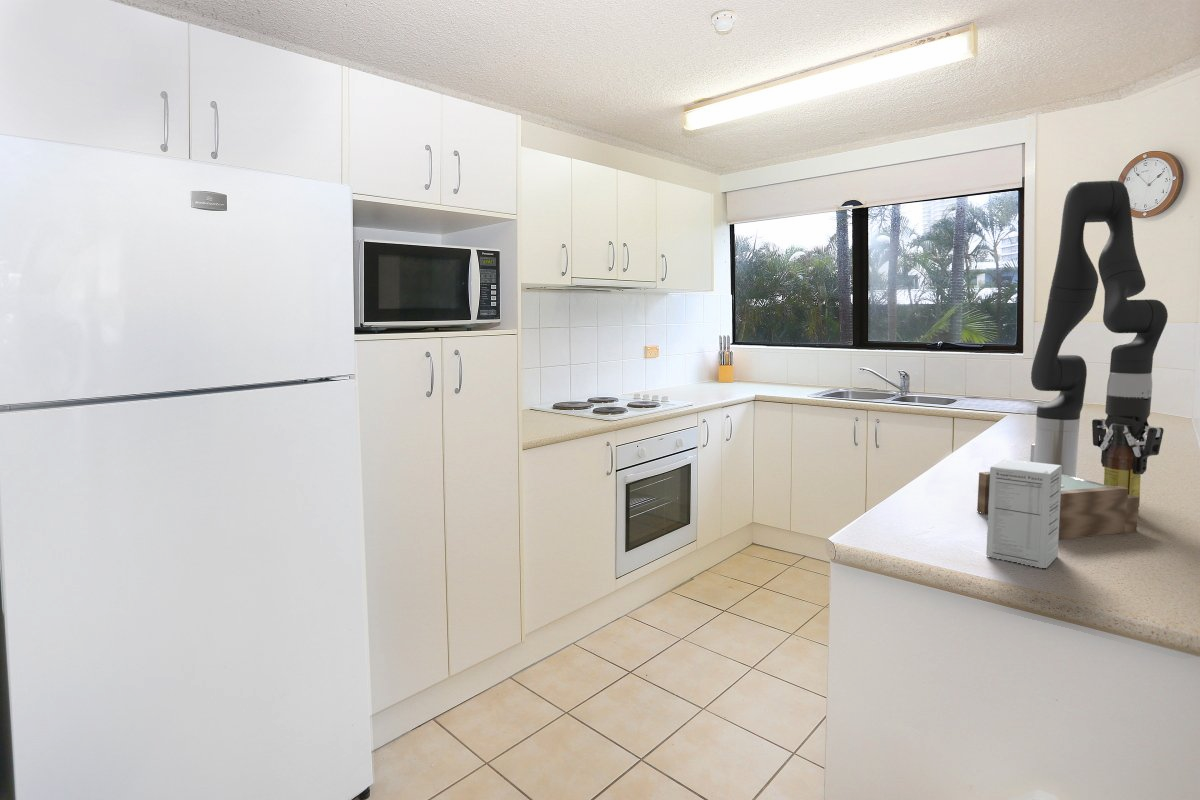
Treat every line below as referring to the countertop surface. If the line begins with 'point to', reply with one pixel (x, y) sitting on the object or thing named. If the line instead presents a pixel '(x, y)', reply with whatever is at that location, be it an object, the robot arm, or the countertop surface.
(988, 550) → the supplement box
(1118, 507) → the frame
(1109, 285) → the robot arm
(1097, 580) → the countertop surface
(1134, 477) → the sauce bottle
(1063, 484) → the trapdoor
